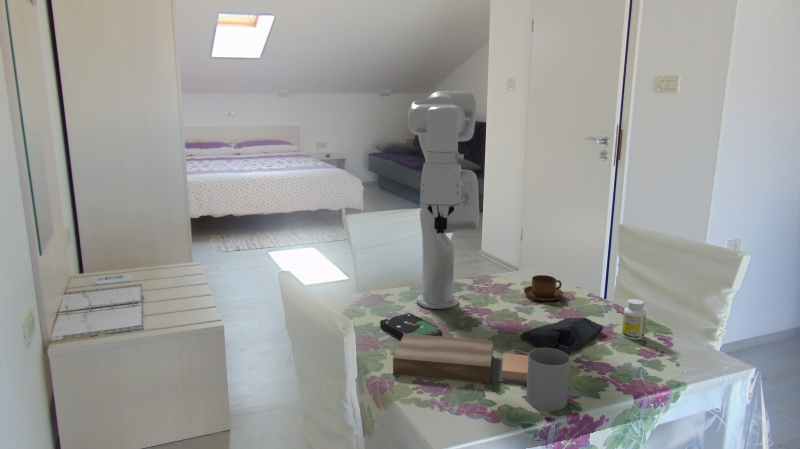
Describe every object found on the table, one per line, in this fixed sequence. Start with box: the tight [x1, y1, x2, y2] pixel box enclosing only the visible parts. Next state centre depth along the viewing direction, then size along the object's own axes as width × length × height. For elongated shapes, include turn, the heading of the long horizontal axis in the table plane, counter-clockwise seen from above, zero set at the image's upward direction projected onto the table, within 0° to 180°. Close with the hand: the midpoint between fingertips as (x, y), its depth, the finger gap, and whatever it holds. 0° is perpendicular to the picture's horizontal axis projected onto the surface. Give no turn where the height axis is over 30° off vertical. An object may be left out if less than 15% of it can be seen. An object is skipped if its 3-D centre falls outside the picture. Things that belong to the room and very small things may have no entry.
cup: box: [525, 347, 571, 412], centre depth 122 cm, size 8×8×10 cm
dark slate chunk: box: [519, 317, 604, 356], centre depth 154 cm, size 15×22×5 cm
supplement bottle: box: [621, 298, 647, 341], centre depth 154 cm, size 5×5×10 cm
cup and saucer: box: [523, 274, 564, 302], centre depth 184 cm, size 12×12×6 cm
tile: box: [502, 352, 529, 381], centre depth 135 cm, size 9×6×2 cm, turn 168°
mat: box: [490, 357, 527, 385], centre depth 135 cm, size 11×12×1 cm
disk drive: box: [379, 312, 443, 341], centre depth 157 cm, size 10×3×15 cm
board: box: [392, 333, 494, 384], centre depth 138 cm, size 14×22×4 cm, turn 79°
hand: (440, 232), depth 145 cm, fingers closed
